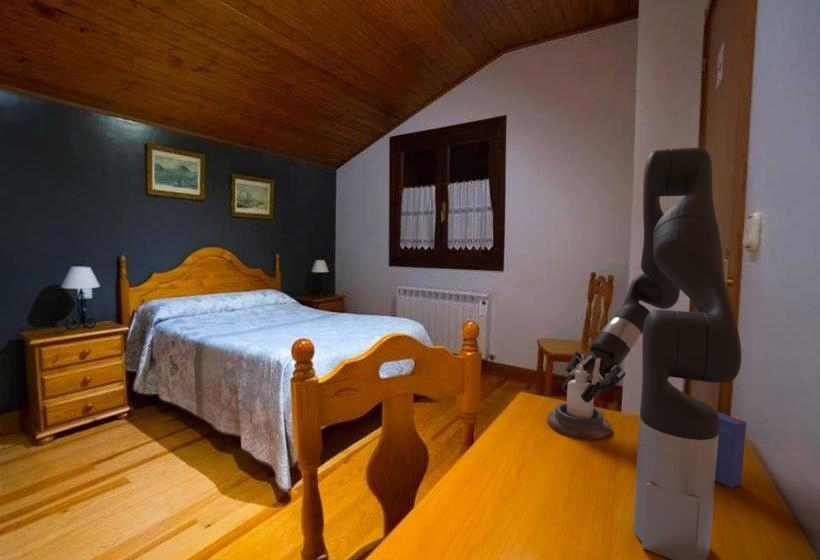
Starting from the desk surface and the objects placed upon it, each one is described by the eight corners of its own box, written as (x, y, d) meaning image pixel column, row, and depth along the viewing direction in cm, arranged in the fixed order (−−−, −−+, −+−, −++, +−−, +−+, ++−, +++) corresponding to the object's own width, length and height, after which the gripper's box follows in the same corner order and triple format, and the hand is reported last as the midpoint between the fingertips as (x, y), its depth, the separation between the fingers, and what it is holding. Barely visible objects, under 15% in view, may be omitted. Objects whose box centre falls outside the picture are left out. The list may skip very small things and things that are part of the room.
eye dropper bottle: (580, 421, 90) (582, 370, 89) (563, 412, 95) (565, 363, 94) (595, 419, 91) (598, 368, 90) (578, 409, 97) (579, 361, 96)
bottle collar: (606, 446, 84) (606, 430, 83) (539, 428, 92) (540, 413, 91) (615, 422, 95) (616, 408, 95) (555, 408, 103) (556, 395, 103)
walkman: (741, 485, 70) (746, 420, 69) (730, 488, 70) (736, 422, 68) (696, 462, 78) (700, 403, 77) (686, 464, 77) (690, 405, 76)
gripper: (584, 324, 101) (544, 375, 98) (634, 337, 87) (589, 396, 84) (600, 343, 103) (561, 393, 100) (650, 358, 90) (607, 417, 87)
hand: (574, 395), depth 92 cm, fingers closed on eye dropper bottle, 5 cm apart
